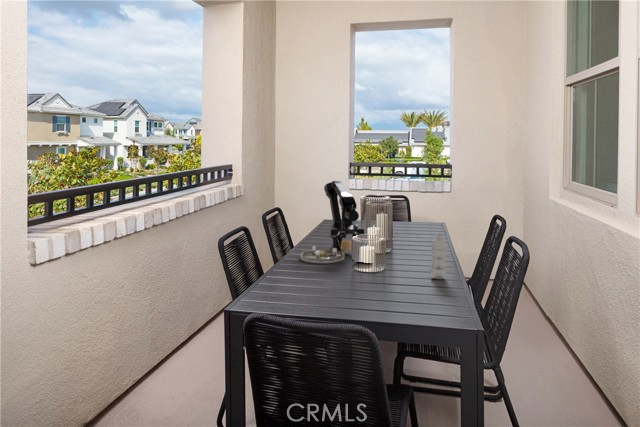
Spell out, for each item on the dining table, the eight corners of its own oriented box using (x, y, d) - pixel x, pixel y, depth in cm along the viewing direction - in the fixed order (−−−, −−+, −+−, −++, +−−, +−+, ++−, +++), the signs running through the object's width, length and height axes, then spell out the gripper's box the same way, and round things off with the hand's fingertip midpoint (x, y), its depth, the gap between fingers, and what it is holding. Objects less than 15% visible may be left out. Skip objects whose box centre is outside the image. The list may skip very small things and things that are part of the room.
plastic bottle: (433, 276, 219) (434, 232, 216) (447, 278, 215) (449, 234, 212) (427, 279, 214) (429, 235, 211) (442, 281, 210) (444, 236, 207)
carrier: (297, 254, 262) (297, 244, 261) (339, 252, 266) (339, 243, 265) (303, 264, 240) (303, 254, 239) (348, 262, 244) (348, 252, 243)
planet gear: (339, 247, 266) (339, 240, 266) (350, 247, 268) (351, 239, 267) (341, 250, 260) (341, 242, 259) (353, 250, 261) (353, 242, 260)
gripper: (332, 221, 252) (332, 250, 254) (367, 220, 255) (366, 249, 257) (328, 218, 263) (328, 246, 265) (361, 217, 266) (361, 245, 268)
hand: (346, 246), depth 264 cm, fingers closed on planet gear, 7 cm apart
